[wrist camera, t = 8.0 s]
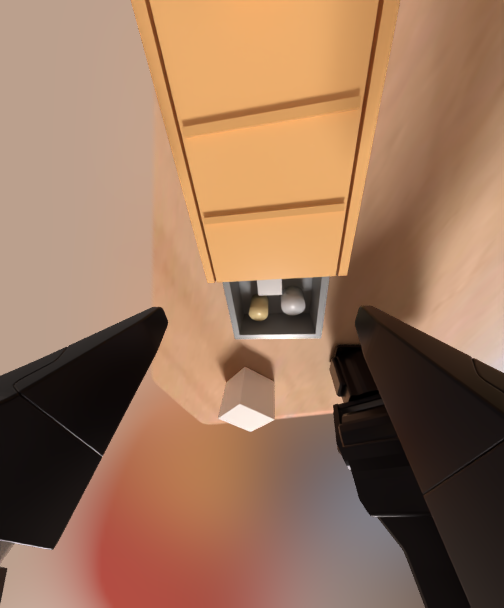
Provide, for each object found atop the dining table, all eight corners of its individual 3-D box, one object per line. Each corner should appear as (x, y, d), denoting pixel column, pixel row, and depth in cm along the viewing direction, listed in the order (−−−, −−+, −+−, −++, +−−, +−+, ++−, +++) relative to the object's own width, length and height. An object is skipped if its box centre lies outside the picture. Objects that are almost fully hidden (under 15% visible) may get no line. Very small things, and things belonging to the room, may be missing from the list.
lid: (453, -412, 5) (830, -1639, 2) (340, 266, 15) (358, 291, 12) (88, -233, 6) (-111, -672, 3) (212, 273, 17) (198, 298, 13)
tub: (325, 187, 15) (341, 190, 12) (313, 313, 23) (321, 338, 19) (219, 199, 17) (205, 206, 13) (240, 315, 24) (235, 339, 20)
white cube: (274, 381, 31) (274, 419, 26) (253, 395, 34) (250, 432, 30) (244, 365, 30) (239, 404, 25) (225, 382, 33) (217, 418, 28)
